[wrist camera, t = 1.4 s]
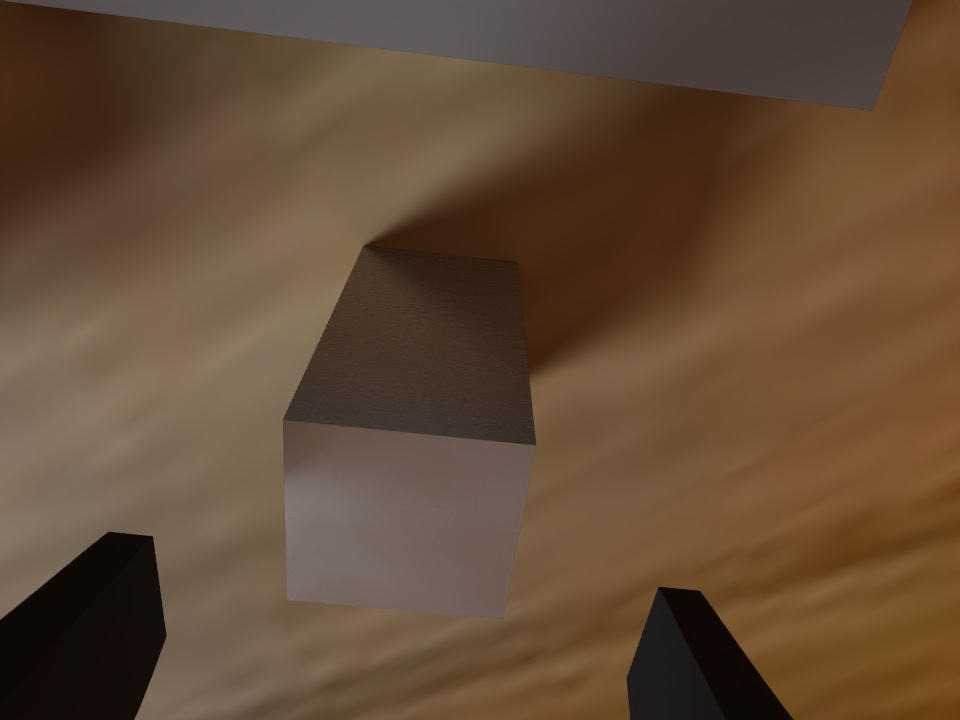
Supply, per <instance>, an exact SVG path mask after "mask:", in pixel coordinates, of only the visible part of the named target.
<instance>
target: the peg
mask: <svg viewBox="0 0 960 720" xmlns="http://www.w3.org/2000/svg"><path fill="white" fill-rule="evenodd" d="M283 446H284V484H285V522H286V560H287V598H288V600H294V601H306V602H317V603H328V604H339V605H351V606H362V607H373V608H384V609H396V610H407V611H418V612H429V613H441V614H452V615H463V616H474V617H486V618H497V619H503V618H504V613H505V607H506V602H507V597H508V591H509V586H510V581H511V576H512V570H513V565H514V560H515V555H516V549H517V544H518V539H519V534H520V528H521V523H522V518H523V512H524V507H525V502H526V497H527V491H528V486H529V481H530V476H531V470H532V465H533V460H534V454H535V449H536V439H535V429H534V419H533V409H532V399H531V389H530V380H529V370H528V360H527V350H526V340H525V331H524V321H523V311H522V301H521V291H520V281H519V272H518V263H512V262H503V261H494V260H485V259H476V258H467V257H459V256H450V255H441V254H432V253H423V252H414V251H405V250H397V249H388V248H379V247H370V246H363V248H362V250H361V252H360V254H359V256H358V258H357V261H356V263H355V265H354V267H353V269H352V271H351V273H350V276H349V278H348V280H347V282H346V284H345V286H344V289H343V291H342V293H341V295H340V297H339V299H338V302H337V304H336V306H335V308H334V310H333V312H332V315H331V317H330V319H329V321H328V323H327V325H326V328H325V330H324V332H323V334H322V336H321V338H320V341H319V343H318V345H317V347H316V349H315V351H314V354H313V356H312V358H311V360H310V362H309V364H308V367H307V369H306V371H305V373H304V375H303V377H302V380H301V382H300V384H299V386H298V388H297V390H296V393H295V395H294V397H293V399H292V401H291V403H290V406H289V408H288V410H287V412H286V414H285V416H284V418H283Z"/></svg>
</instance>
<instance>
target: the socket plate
mask: <svg viewBox="0 0 960 720" xmlns="http://www.w3.org/2000/svg"><path fill="white" fill-rule="evenodd" d="M0 1H8V2H16V3H24V4H32V5H40V6H48V7H56V8H64V9H72V10H79V11H87V12H95V13H103V14H111V15H119V16H127V17H135V18H143V19H151V20H159V21H166V22H174V23H182V24H190V25H198V26H206V27H214V28H222V29H230V30H238V31H246V32H253V33H261V34H269V35H277V36H285V37H293V38H301V39H309V40H317V41H325V42H333V43H340V44H348V45H356V46H364V47H372V48H380V49H388V50H396V51H404V52H412V53H420V54H427V55H435V56H443V57H451V58H459V59H467V60H475V61H483V62H491V63H499V64H507V65H515V66H522V67H530V68H538V69H546V70H554V71H562V72H570V73H578V74H586V75H594V76H602V77H609V78H617V79H625V80H633V81H641V82H649V83H657V84H665V85H673V86H681V87H689V88H696V89H704V90H712V91H720V92H728V93H736V94H744V95H752V96H760V97H768V98H776V99H783V100H791V101H799V102H807V103H815V104H823V105H831V106H839V107H847V108H855V109H863V110H870V111H872V110H873V108H874V105H875V102H876V100H877V97H878V94H879V91H880V89H881V86H882V83H883V81H884V78H885V75H886V73H887V70H888V67H889V64H890V62H891V59H892V56H893V54H894V51H895V48H896V46H897V43H898V40H899V38H900V35H901V32H902V29H903V27H904V24H905V21H906V19H907V16H908V13H909V11H910V8H911V5H912V3H913V0H0Z"/></svg>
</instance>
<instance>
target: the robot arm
mask: <svg viewBox="0 0 960 720" xmlns="http://www.w3.org/2000/svg"><path fill="white" fill-rule="evenodd" d="M165 639H166V629H165V622H164V614H163V607H162V600H161V592H160V585H159V578H158V570H157V563H156V555H155V548H154V541H153V536H145V535H135V534H125V533H115V532H108V533H106V534H105V535H104V536H102V537H101V538H100V539H99V540H97V541H96V542H95V543H94V544H92V545H91V546H90V547H89V548H87V549H86V550H85V551H84V552H82V553H81V554H80V555H79V556H78V557H76V558H75V559H74V560H73V561H72V562H70V563H69V564H68V565H67V566H65V567H64V568H63V569H62V570H61V571H59V572H58V573H57V574H56V575H55V576H53V577H52V578H51V579H50V580H49V581H47V582H46V583H45V584H44V585H42V586H41V587H40V588H39V589H38V590H36V591H35V592H34V593H33V594H31V595H30V596H29V597H28V598H27V599H25V600H24V601H23V602H22V603H20V604H19V605H18V606H17V607H16V608H14V609H13V610H12V611H11V612H9V613H8V614H7V615H6V616H4V617H3V618H2V619H1V620H0V720H134V719H135V717H136V715H137V713H138V711H139V708H140V706H141V703H142V700H143V698H144V695H145V693H146V690H147V688H148V685H149V682H150V680H151V677H152V675H153V672H154V669H155V666H156V664H157V661H158V658H159V655H160V653H161V650H162V647H163V644H164V642H165ZM627 689H628V699H629V710H630V720H793V718H792V717H791V716H790V714H789V713H788V712H787V711H786V709H785V708H784V707H783V705H782V704H781V703H780V701H779V700H778V699H777V697H776V696H775V695H774V693H773V692H772V690H771V689H770V688H769V686H768V685H767V684H766V682H765V681H764V680H763V678H762V677H761V675H760V674H759V673H758V671H757V670H756V668H755V667H754V666H753V664H752V663H751V662H750V660H749V659H748V657H747V656H746V655H745V653H744V652H743V650H742V649H741V648H740V646H739V645H738V643H737V642H736V640H735V639H734V638H733V636H732V635H731V633H730V632H729V631H728V629H727V628H726V626H725V625H724V624H723V622H722V621H721V619H720V618H719V616H718V615H717V614H716V612H715V611H714V609H713V608H712V607H711V605H710V604H709V602H708V601H707V600H706V598H705V597H704V596H703V594H702V593H701V592H700V591H697V590H687V589H677V588H667V587H658V590H657V593H656V596H655V599H654V602H653V604H652V607H651V610H650V613H649V616H648V619H647V622H646V624H645V627H644V630H643V633H642V636H641V639H640V642H639V645H638V647H637V650H636V653H635V656H634V659H633V662H632V665H631V667H630V670H629V673H628V676H627Z"/></svg>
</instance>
